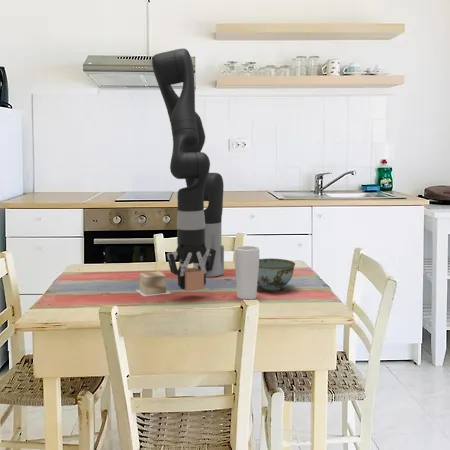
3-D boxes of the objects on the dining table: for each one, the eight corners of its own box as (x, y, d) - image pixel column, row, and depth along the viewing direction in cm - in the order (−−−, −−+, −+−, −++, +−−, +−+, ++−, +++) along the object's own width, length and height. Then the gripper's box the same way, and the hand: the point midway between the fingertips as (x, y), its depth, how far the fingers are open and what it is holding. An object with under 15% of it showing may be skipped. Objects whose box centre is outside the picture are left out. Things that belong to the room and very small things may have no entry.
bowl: (242, 292, 195) (242, 265, 194) (256, 282, 208) (256, 256, 207) (288, 296, 191) (288, 268, 190) (299, 285, 203) (299, 259, 202)
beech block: (159, 288, 195) (159, 271, 194) (166, 292, 189) (166, 275, 188) (139, 290, 192) (139, 273, 191) (145, 295, 187) (145, 277, 186)
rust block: (197, 284, 187) (196, 267, 186) (204, 288, 182) (203, 270, 181) (180, 286, 185) (179, 269, 184) (186, 290, 180) (186, 272, 179)
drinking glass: (230, 299, 187) (230, 246, 185) (252, 297, 190) (252, 245, 187) (240, 305, 181) (241, 250, 179) (263, 302, 183) (263, 249, 181)
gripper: (209, 222, 187) (210, 281, 190) (161, 226, 181) (162, 287, 184) (220, 226, 180) (221, 287, 183) (170, 230, 174) (172, 294, 177)
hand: (191, 287), depth 183 cm, fingers closed on rust block, 5 cm apart
